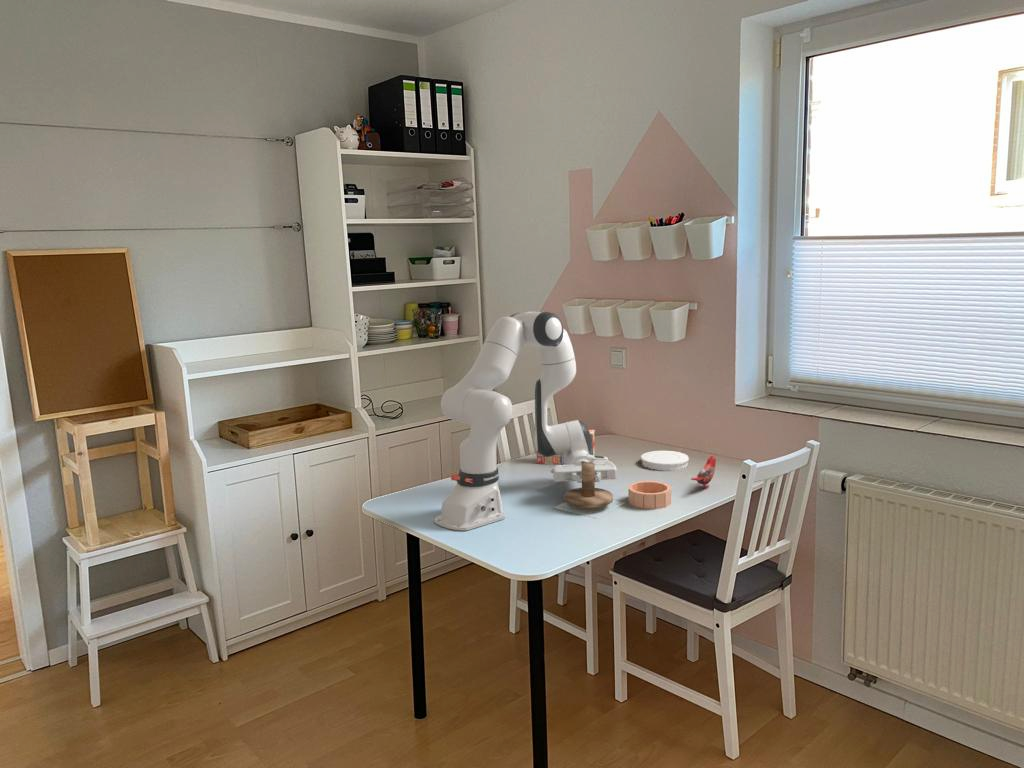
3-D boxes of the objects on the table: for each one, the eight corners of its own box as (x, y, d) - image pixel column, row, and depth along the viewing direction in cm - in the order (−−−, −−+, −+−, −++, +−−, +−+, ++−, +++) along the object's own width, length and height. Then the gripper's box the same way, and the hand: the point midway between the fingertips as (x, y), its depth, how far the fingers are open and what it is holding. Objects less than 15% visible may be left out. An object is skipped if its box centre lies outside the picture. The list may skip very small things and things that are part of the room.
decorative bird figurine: (719, 483, 259) (719, 454, 257) (695, 498, 246) (695, 468, 244) (711, 482, 261) (711, 453, 259) (686, 496, 247) (687, 466, 246)
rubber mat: (596, 519, 231) (596, 518, 231) (553, 508, 241) (553, 507, 241) (625, 504, 242) (625, 503, 242) (583, 494, 253) (583, 493, 253)
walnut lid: (594, 511, 231) (594, 474, 228) (554, 501, 240) (553, 465, 238) (621, 498, 242) (621, 462, 240) (582, 489, 251) (582, 454, 249)
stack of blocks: (536, 464, 289) (535, 432, 287) (539, 459, 295) (538, 428, 293) (593, 465, 284) (592, 433, 282) (595, 461, 290) (594, 429, 288)
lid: (690, 457, 292) (690, 449, 291) (687, 473, 273) (687, 464, 272) (644, 455, 296) (644, 447, 296) (638, 470, 277) (638, 462, 277)
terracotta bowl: (657, 512, 234) (657, 497, 233) (620, 504, 242) (620, 489, 241) (678, 501, 244) (678, 485, 243) (642, 493, 252) (642, 478, 251)
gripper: (549, 459, 251) (555, 471, 238) (611, 456, 253) (620, 468, 239) (549, 478, 252) (555, 491, 239) (611, 475, 254) (620, 488, 240)
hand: (588, 479), depth 239 cm, fingers closed on walnut lid, 4 cm apart
